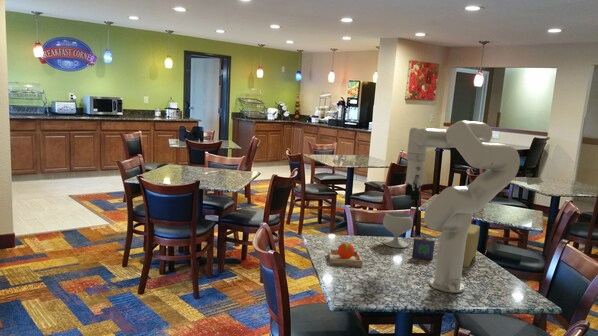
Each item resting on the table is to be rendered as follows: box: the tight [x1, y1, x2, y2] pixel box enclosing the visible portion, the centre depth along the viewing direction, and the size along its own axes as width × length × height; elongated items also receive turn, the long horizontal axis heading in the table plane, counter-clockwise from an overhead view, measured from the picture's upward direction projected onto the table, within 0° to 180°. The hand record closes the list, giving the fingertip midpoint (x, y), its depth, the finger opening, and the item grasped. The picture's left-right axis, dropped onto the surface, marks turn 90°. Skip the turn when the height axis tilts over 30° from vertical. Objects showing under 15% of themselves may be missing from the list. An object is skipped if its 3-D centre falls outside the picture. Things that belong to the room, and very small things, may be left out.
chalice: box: [382, 211, 413, 249], centre depth 226 cm, size 14×14×15 cm
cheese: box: [463, 223, 481, 268], centre depth 209 cm, size 22×10×15 cm, turn 161°
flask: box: [411, 234, 436, 261], centre depth 207 cm, size 9×3×11 cm, turn 87°
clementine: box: [337, 242, 355, 259], centre depth 195 cm, size 8×7×7 cm
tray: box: [327, 248, 364, 268], centre depth 196 cm, size 13×13×2 cm
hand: (411, 197), depth 196 cm, fingers open, 9 cm apart
